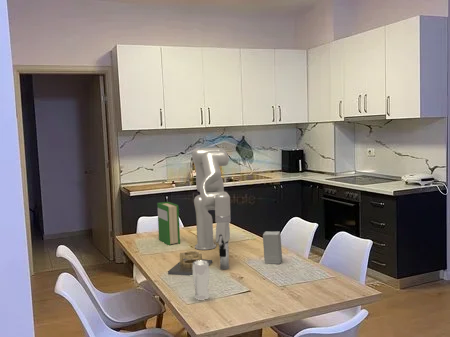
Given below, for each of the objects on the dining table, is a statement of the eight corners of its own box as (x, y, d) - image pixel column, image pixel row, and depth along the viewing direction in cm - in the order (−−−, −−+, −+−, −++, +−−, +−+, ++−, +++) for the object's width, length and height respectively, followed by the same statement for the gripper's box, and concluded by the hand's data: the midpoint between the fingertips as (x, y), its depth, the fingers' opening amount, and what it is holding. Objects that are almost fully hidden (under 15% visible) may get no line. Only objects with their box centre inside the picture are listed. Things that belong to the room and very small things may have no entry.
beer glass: (193, 295, 190) (191, 260, 188) (209, 294, 190) (208, 259, 189) (193, 301, 183) (192, 265, 181) (210, 300, 183) (209, 264, 182)
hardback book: (180, 243, 278) (178, 205, 276) (168, 245, 275) (167, 206, 273) (169, 238, 294) (168, 201, 292) (159, 239, 290) (157, 202, 288)
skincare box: (282, 261, 235) (281, 231, 233) (279, 265, 228) (278, 234, 227) (266, 260, 238) (265, 230, 236) (263, 263, 231) (262, 233, 230)
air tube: (221, 266, 228) (220, 235, 227) (230, 267, 227) (229, 235, 226) (218, 269, 224) (217, 237, 222) (227, 269, 223) (226, 238, 221)
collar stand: (183, 261, 240) (183, 247, 240) (212, 262, 236) (212, 248, 235) (168, 274, 219) (167, 259, 218) (199, 276, 215) (198, 260, 214)
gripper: (220, 215, 232) (221, 250, 234) (210, 222, 216) (212, 259, 218) (234, 215, 230) (235, 250, 232) (225, 222, 214) (227, 260, 216)
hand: (224, 254), depth 225 cm, fingers closed on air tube, 4 cm apart
